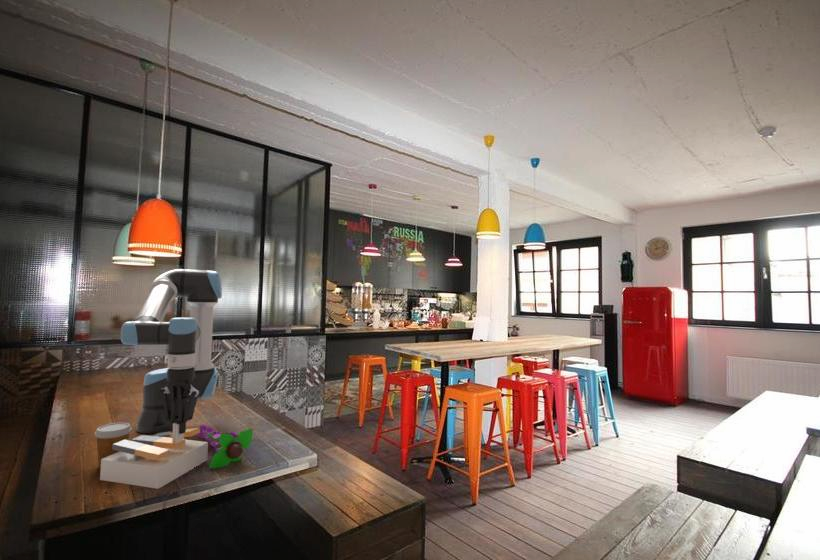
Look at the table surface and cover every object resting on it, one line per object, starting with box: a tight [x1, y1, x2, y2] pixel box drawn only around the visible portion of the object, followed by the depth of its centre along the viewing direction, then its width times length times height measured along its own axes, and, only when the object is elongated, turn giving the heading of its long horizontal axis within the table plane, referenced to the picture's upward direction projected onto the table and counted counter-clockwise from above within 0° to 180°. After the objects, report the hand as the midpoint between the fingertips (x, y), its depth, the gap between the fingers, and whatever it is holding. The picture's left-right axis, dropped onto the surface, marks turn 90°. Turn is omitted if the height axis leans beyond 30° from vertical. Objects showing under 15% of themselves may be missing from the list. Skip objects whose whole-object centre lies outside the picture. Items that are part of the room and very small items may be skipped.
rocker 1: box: [112, 439, 169, 460], centre depth 119 cm, size 16×4×2 cm, turn 79°
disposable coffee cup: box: [94, 422, 133, 469], centre depth 127 cm, size 10×10×12 cm
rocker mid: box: [130, 434, 186, 449], centre depth 125 cm, size 16×4×2 cm, turn 79°
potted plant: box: [195, 424, 254, 469], centre depth 140 cm, size 12×16×35 cm
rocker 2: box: [152, 427, 200, 438], centre depth 132 cm, size 16×4×2 cm, turn 79°
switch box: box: [99, 438, 209, 489], centre depth 125 cm, size 20×20×8 cm
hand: (177, 443), depth 124 cm, fingers closed
